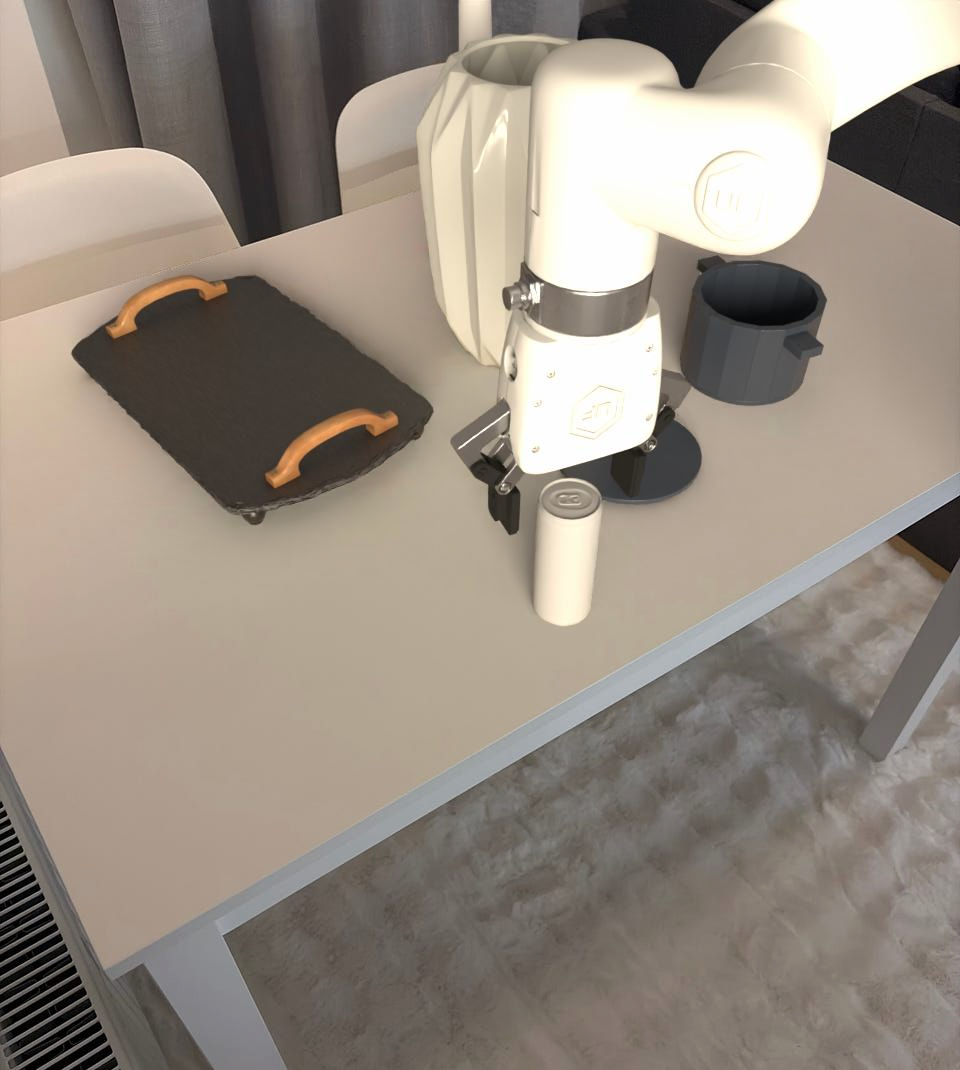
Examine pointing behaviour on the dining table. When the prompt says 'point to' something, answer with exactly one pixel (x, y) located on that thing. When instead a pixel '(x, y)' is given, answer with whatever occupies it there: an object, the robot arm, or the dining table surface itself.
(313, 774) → the dining table surface
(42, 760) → the dining table surface
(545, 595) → the beverage can
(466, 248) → the vase
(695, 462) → the lid
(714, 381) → the pot
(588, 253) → the robot arm
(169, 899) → the dining table surface
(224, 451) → the serving tray
